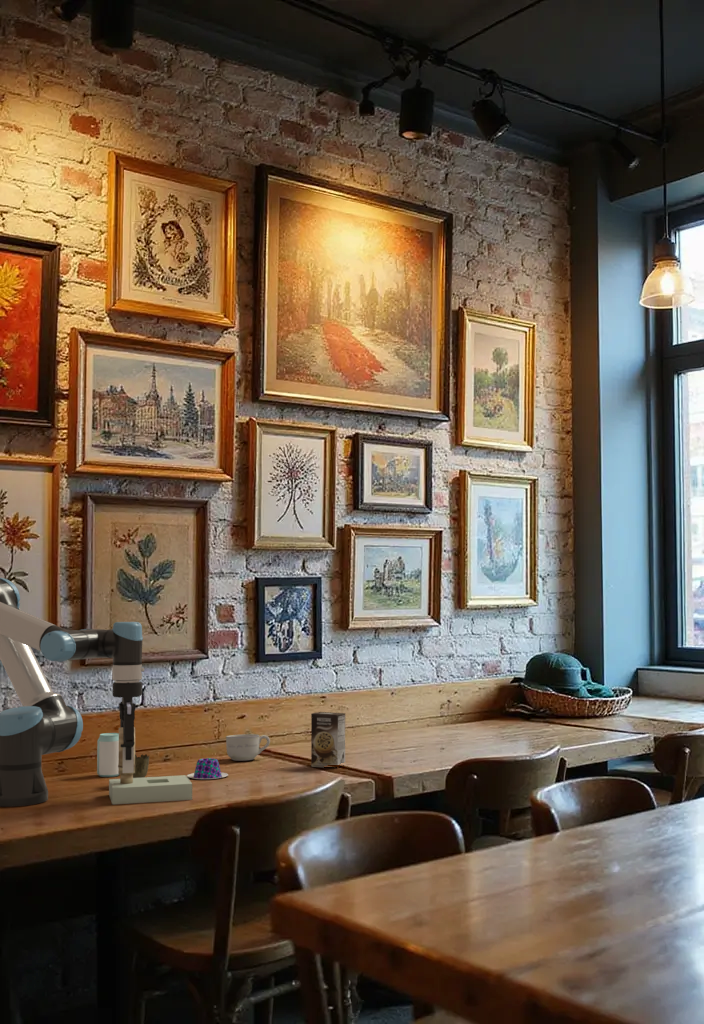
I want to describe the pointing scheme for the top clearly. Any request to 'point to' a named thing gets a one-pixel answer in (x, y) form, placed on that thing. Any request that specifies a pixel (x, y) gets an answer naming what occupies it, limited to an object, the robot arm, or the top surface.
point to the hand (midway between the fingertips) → (126, 770)
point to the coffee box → (327, 739)
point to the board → (150, 790)
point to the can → (108, 754)
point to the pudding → (207, 769)
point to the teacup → (245, 746)
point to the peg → (124, 777)
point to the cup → (141, 766)
